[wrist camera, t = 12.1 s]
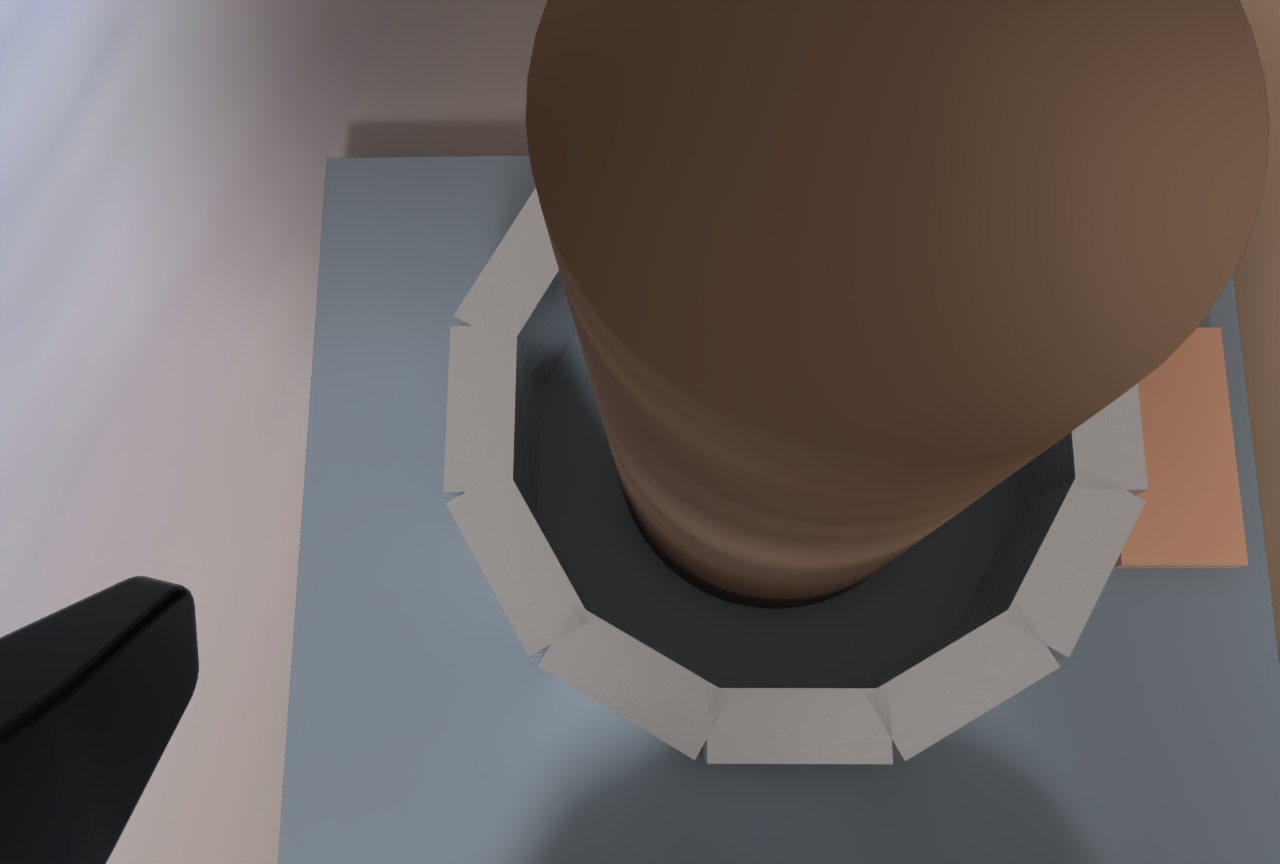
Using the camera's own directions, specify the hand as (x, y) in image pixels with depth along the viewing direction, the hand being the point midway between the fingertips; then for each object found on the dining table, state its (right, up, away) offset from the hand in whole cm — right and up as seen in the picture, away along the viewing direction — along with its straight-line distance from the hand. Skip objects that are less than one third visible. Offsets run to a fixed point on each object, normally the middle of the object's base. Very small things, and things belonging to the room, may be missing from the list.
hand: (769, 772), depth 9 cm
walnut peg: (+1, +2, +11) cm, 12 cm away
